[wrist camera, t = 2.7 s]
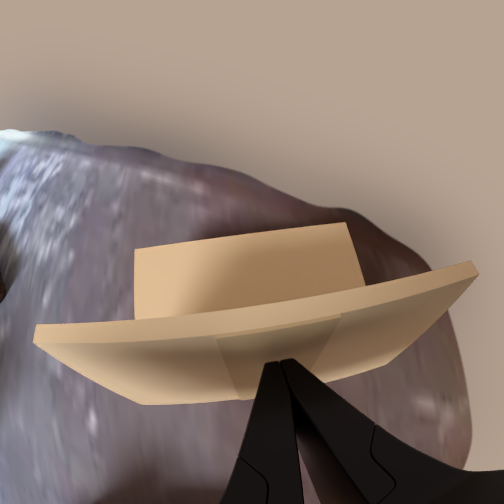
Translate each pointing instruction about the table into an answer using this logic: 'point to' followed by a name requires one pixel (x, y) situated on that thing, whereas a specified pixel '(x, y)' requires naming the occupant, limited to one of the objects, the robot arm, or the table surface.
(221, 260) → the carton
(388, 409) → the table surface
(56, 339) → the carton lid
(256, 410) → the robot arm
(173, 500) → the table surface
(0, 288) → the brick
